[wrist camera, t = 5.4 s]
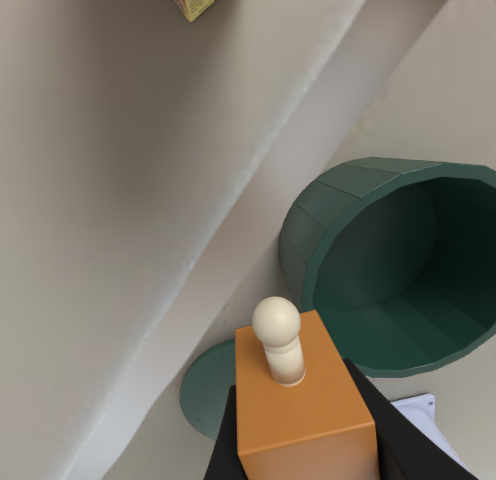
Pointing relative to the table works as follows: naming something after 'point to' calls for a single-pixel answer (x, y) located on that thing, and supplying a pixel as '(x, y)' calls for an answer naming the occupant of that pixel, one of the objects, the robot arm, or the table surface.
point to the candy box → (193, 7)
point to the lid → (209, 388)
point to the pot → (396, 261)
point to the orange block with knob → (298, 401)
